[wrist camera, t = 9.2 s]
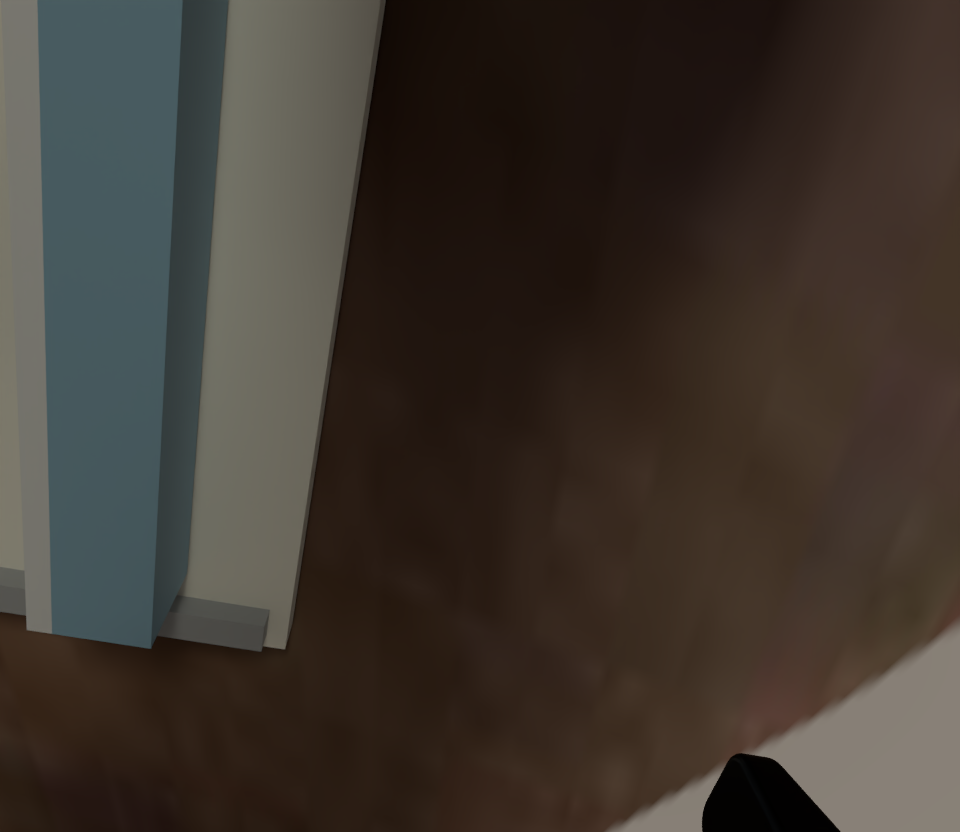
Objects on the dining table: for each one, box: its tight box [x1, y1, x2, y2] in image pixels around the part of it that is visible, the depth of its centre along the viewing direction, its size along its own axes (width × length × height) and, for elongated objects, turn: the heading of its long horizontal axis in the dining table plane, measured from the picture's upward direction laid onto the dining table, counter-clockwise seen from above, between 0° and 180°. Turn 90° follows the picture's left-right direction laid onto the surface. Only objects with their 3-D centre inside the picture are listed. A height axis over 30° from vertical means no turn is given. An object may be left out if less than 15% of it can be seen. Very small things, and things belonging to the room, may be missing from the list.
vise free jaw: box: [1, 0, 228, 649], centre depth 15 cm, size 2×14×2 cm, turn 168°
